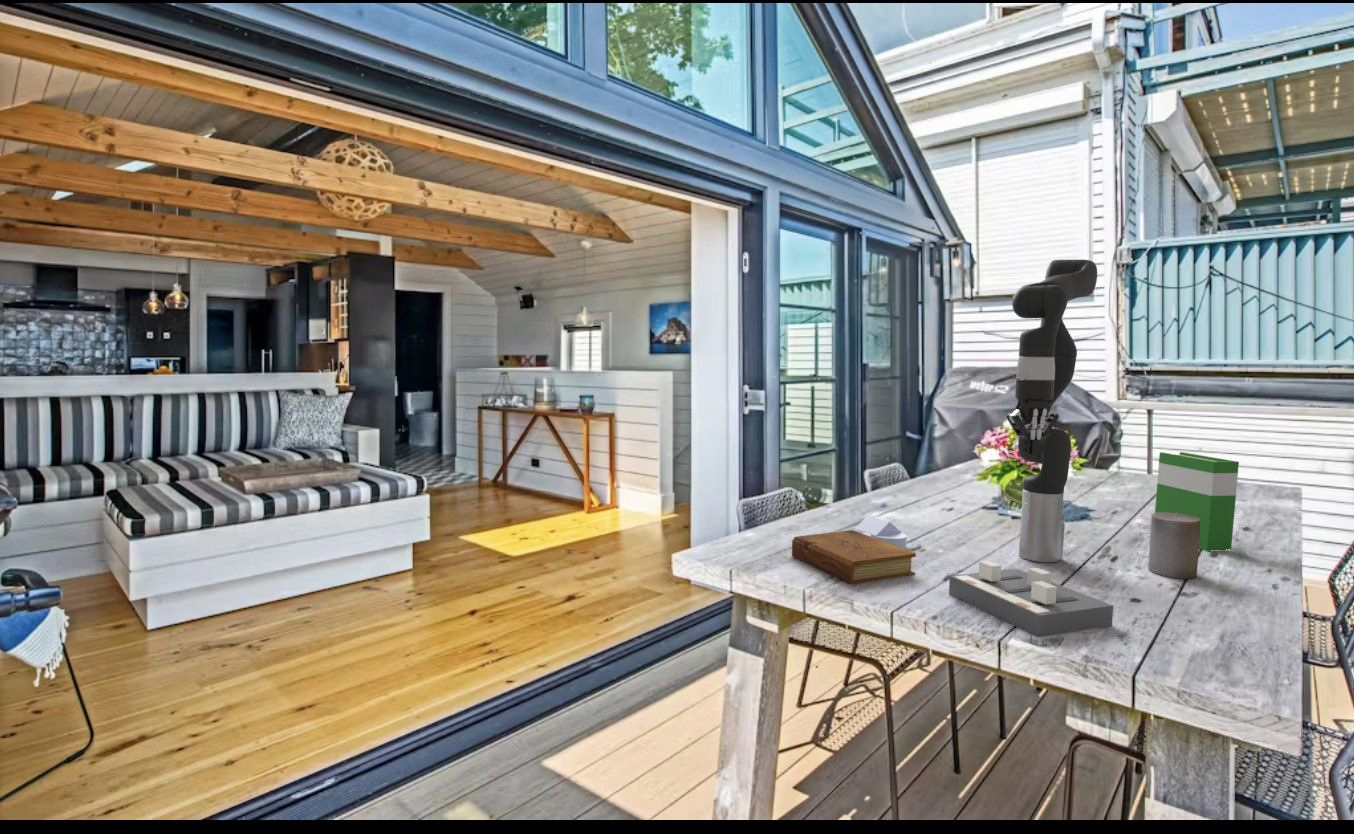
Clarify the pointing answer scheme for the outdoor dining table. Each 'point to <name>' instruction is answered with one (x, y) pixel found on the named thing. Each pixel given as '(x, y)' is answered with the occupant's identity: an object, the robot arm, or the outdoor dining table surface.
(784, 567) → the outdoor dining table surface
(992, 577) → the switch tab
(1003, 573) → the panel
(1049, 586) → the switch tab
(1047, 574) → the switch tab
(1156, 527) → the pillar candle
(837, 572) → the diary
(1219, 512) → the hardback book
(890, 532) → the wedge on round base
